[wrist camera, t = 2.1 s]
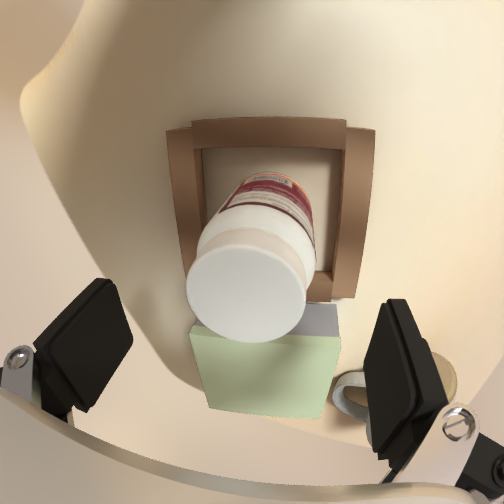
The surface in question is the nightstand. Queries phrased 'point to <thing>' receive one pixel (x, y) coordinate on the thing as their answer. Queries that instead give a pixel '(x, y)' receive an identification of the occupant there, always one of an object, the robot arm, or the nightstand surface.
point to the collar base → (279, 135)
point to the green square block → (271, 367)
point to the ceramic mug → (358, 379)
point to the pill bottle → (255, 261)
